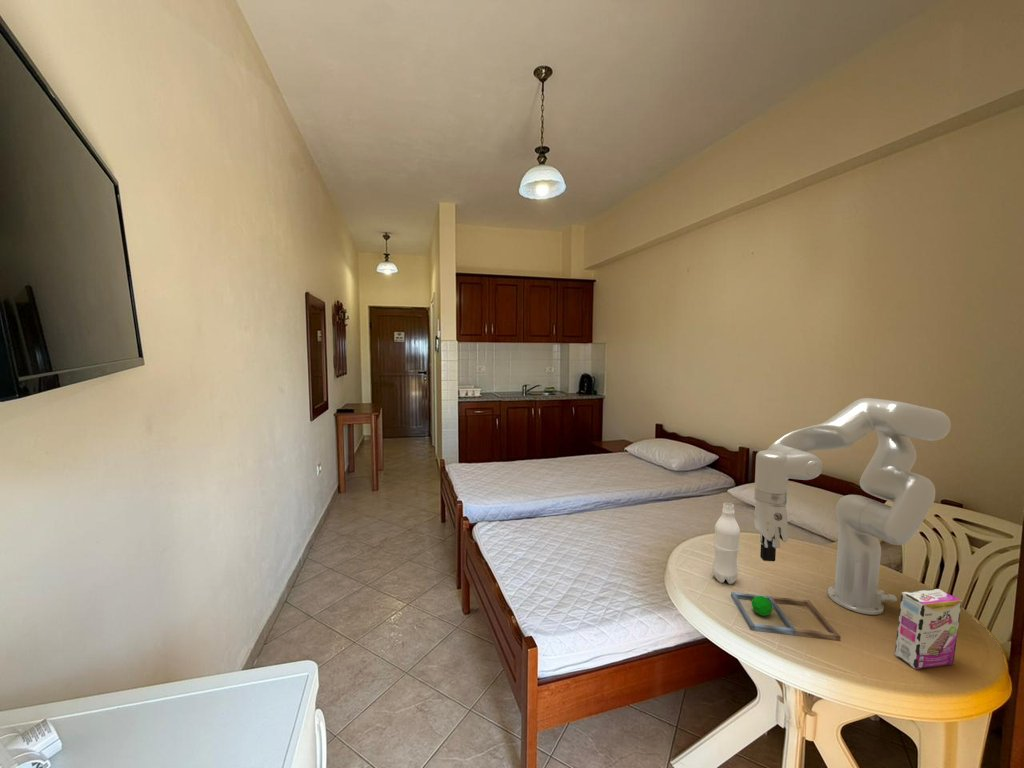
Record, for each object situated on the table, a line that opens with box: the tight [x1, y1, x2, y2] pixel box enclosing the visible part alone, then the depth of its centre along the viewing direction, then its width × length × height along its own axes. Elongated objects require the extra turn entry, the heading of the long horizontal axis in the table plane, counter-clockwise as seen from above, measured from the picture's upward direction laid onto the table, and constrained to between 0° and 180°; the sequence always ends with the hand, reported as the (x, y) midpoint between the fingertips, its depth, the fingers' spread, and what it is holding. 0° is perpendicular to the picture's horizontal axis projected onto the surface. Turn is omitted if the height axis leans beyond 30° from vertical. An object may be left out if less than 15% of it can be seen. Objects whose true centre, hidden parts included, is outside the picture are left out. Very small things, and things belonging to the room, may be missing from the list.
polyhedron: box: [751, 595, 773, 616], centre depth 113 cm, size 5×5×5 cm
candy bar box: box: [894, 588, 963, 670], centre depth 96 cm, size 11×5×16 cm, turn 99°
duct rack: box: [730, 591, 842, 642], centre depth 112 cm, size 21×15×1 cm
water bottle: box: [712, 502, 741, 585], centre depth 129 cm, size 7×7×25 cm
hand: (767, 559), depth 113 cm, fingers closed
